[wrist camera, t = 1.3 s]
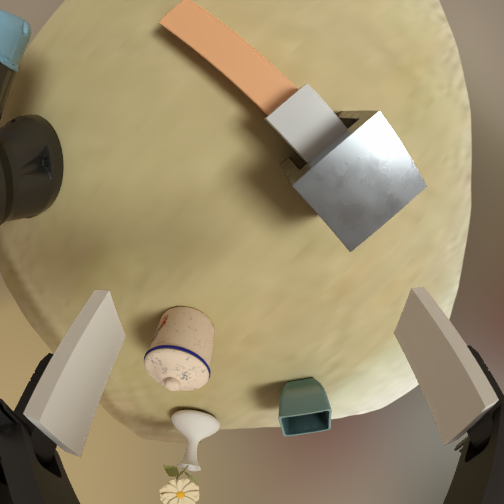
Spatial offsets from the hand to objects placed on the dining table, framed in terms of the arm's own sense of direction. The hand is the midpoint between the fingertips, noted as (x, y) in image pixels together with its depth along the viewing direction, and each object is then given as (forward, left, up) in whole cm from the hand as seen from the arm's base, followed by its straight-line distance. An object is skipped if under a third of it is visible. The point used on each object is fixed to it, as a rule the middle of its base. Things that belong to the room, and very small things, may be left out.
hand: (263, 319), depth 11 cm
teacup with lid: (+9, -24, -22) cm, 34 cm away
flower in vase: (+27, -45, -22) cm, 57 cm away
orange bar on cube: (-10, +8, -22) cm, 26 cm away
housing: (+4, +8, -22) cm, 24 cm away
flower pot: (+33, -20, -22) cm, 44 cm away
